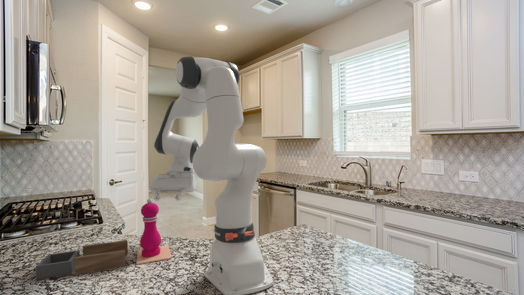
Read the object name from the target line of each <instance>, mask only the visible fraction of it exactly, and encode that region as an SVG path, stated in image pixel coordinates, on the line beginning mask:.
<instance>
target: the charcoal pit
mask: <svg viewBox="0 0 524 295" xmlns="http://www.w3.org/2000/svg"><path fill="white" fill-rule="evenodd" d="M78 256H81V251H80V249H79V250H78V249H77V250H71V251H65V252H64V251H63V252H57V253H56V252H55V253H51V254H50V253H49V254H47V255H46V256H45V257H44V258H43V259H42V260H41V261H40V262H39V263H38V264H36V266H35V280H36V281H38V280H44V279H51V278H57V277H62V276H69V275H73V273H74V272H75V267H74V258H75V257H78Z"/></svg>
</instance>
